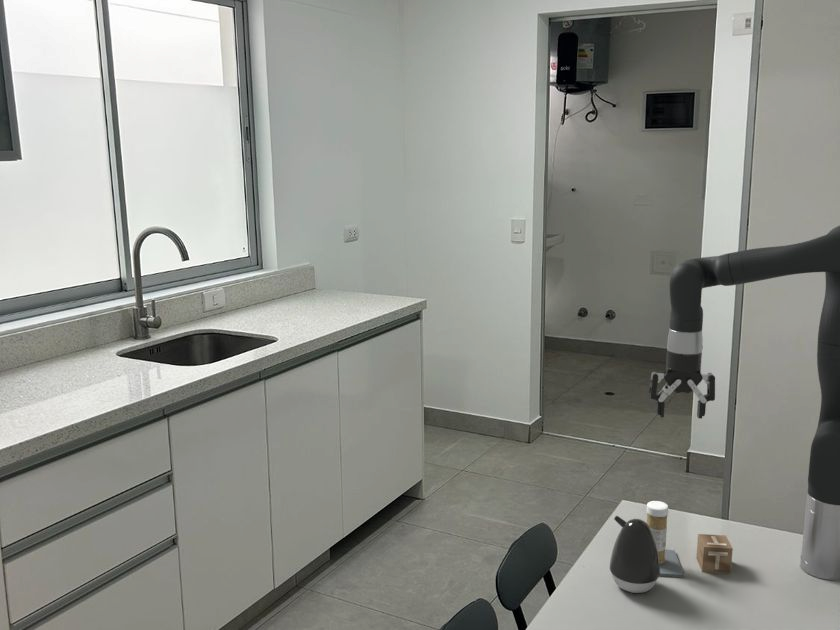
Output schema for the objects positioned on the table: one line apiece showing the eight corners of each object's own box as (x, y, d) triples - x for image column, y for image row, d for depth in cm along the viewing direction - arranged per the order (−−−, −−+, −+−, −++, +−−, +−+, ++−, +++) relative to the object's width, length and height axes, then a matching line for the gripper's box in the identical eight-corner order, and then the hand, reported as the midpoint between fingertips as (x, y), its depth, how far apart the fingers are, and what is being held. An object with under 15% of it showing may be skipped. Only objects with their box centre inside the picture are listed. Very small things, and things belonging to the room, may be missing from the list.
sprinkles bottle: (651, 553, 185) (655, 498, 183) (669, 561, 182) (672, 505, 179) (639, 560, 183) (642, 504, 180) (657, 568, 179) (660, 511, 176)
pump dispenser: (624, 568, 180) (628, 504, 177) (667, 586, 173) (672, 519, 170) (598, 586, 173) (601, 519, 170) (642, 605, 166) (646, 536, 163)
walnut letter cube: (723, 560, 184) (725, 534, 183) (730, 574, 178) (732, 548, 177) (696, 558, 185) (698, 533, 183) (702, 572, 179) (704, 546, 177)
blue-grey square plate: (674, 552, 187) (674, 550, 187) (683, 577, 176) (683, 574, 176) (625, 549, 188) (625, 547, 188) (631, 574, 178) (631, 571, 178)
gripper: (713, 345, 188) (708, 412, 191) (649, 344, 189) (645, 410, 193) (721, 353, 180) (716, 423, 184) (654, 352, 182) (651, 421, 185)
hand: (680, 417), depth 188 cm, fingers open, 8 cm apart
